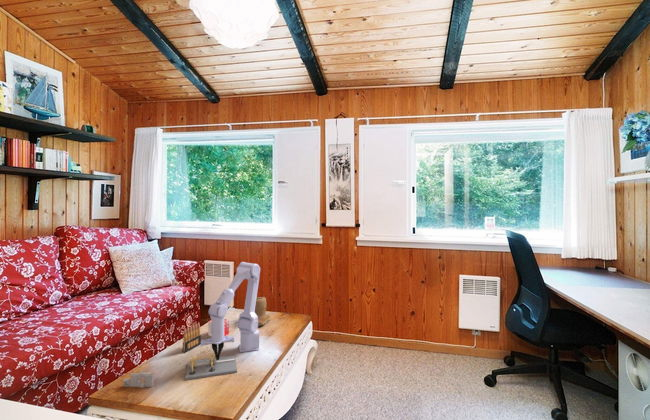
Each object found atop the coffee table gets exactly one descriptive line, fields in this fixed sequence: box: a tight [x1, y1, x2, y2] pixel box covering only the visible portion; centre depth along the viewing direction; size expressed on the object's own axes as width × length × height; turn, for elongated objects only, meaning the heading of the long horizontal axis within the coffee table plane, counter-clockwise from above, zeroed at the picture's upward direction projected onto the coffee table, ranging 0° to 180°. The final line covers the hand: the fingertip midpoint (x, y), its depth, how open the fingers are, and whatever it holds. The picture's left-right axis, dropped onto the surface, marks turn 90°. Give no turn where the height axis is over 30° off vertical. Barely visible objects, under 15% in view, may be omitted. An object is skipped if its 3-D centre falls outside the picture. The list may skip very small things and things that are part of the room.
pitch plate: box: [185, 354, 238, 381], centre depth 144 cm, size 21×14×5 cm, turn 109°
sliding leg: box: [208, 352, 216, 370], centre depth 144 cm, size 2×8×3 cm, turn 19°
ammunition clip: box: [181, 321, 202, 354], centre depth 163 cm, size 11×2×12 cm, turn 157°
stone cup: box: [255, 296, 271, 327], centre depth 198 cm, size 15×12×15 cm
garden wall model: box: [122, 371, 156, 388], centre depth 130 cm, size 12×2×6 cm, turn 91°
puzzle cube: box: [207, 318, 230, 337], centre depth 179 cm, size 8×8×8 cm
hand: (217, 358), depth 147 cm, fingers closed
